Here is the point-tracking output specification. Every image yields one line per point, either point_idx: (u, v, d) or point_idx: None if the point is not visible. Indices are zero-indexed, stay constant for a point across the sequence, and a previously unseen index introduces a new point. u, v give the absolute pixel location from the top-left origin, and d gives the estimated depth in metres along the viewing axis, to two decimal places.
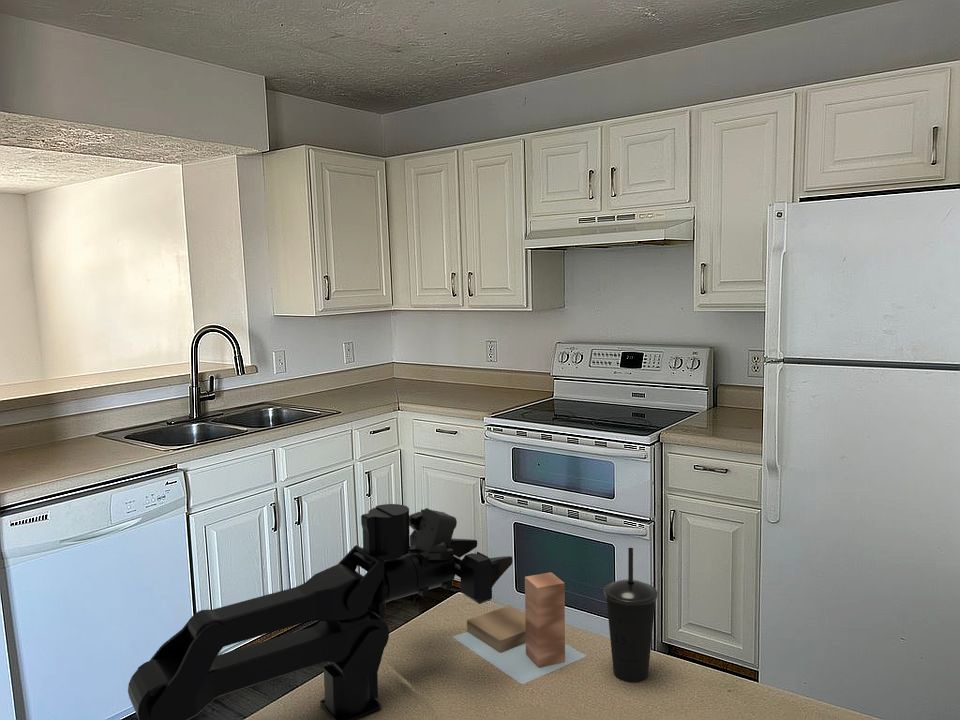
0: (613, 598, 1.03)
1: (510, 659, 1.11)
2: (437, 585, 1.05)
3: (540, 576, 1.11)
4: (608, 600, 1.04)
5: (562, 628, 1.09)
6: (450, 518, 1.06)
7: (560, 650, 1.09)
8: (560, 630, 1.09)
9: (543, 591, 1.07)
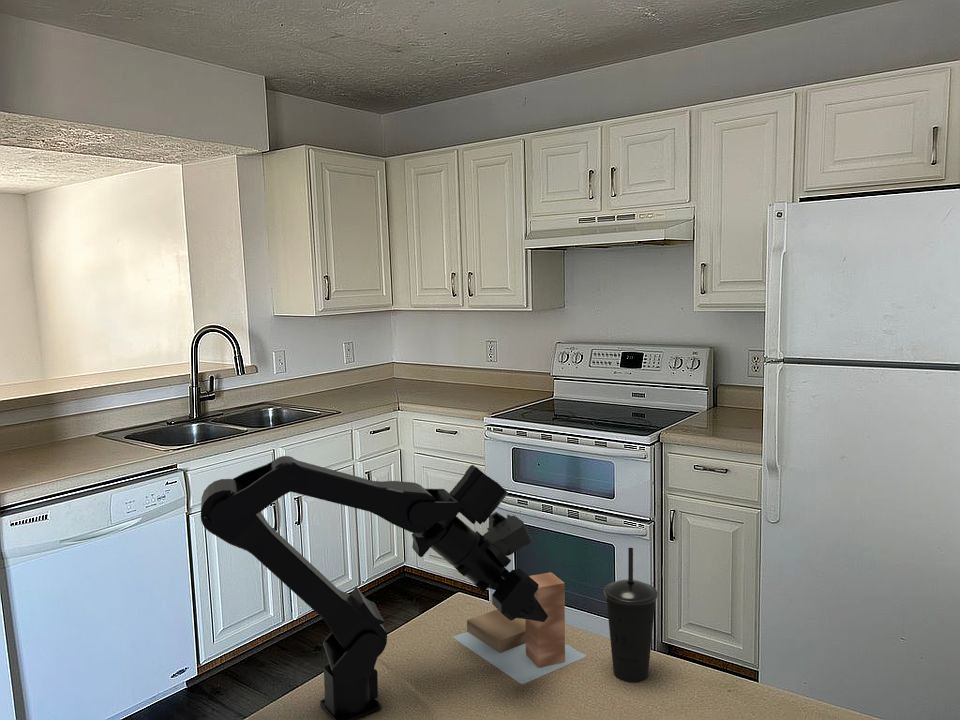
0: (613, 598, 1.03)
1: (510, 659, 1.11)
2: (475, 577, 1.03)
3: (540, 576, 1.11)
4: (608, 600, 1.04)
5: (562, 628, 1.09)
6: (528, 534, 1.06)
7: (560, 650, 1.09)
8: (560, 630, 1.09)
9: (543, 591, 1.07)
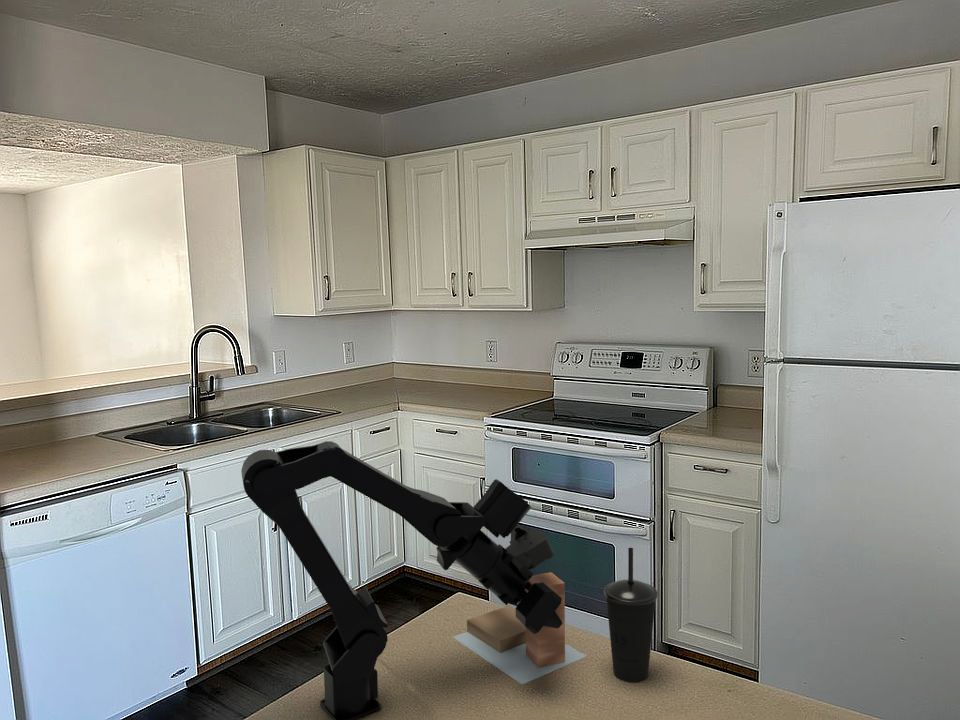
0: (613, 598, 1.03)
1: (510, 659, 1.11)
2: (499, 590, 1.05)
3: (540, 576, 1.11)
4: (608, 600, 1.04)
5: (562, 628, 1.09)
6: (551, 548, 1.07)
7: (560, 650, 1.09)
8: (560, 630, 1.09)
9: None
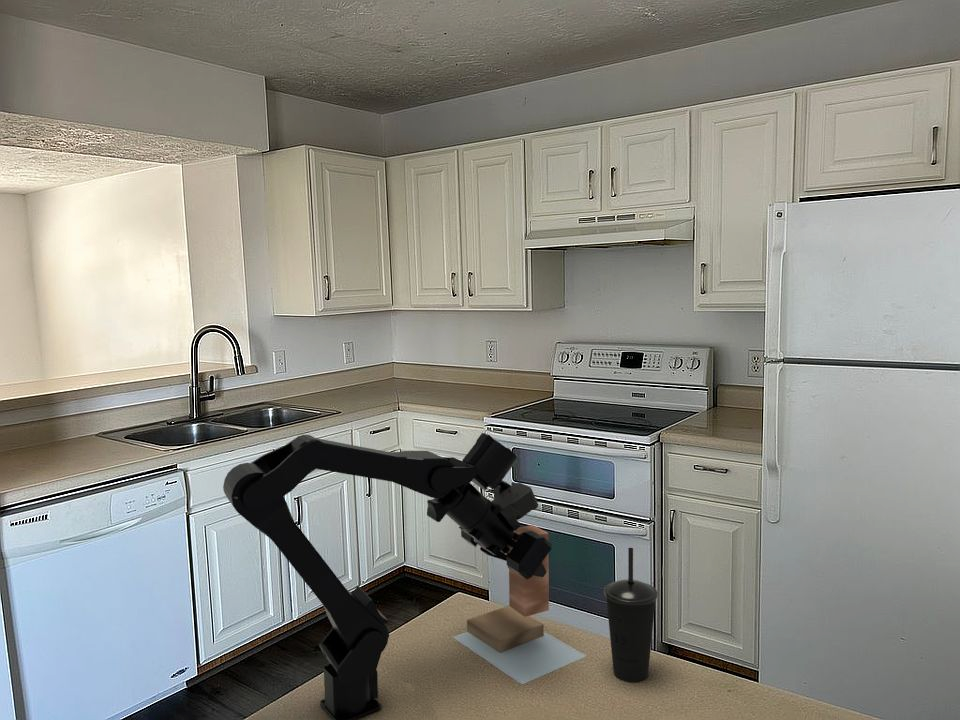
0: (613, 598, 1.03)
1: (510, 659, 1.11)
2: (488, 541, 1.07)
3: (523, 528, 1.14)
4: (608, 600, 1.04)
5: (546, 577, 1.12)
6: (535, 499, 1.10)
7: (544, 599, 1.12)
8: (544, 579, 1.12)
9: None
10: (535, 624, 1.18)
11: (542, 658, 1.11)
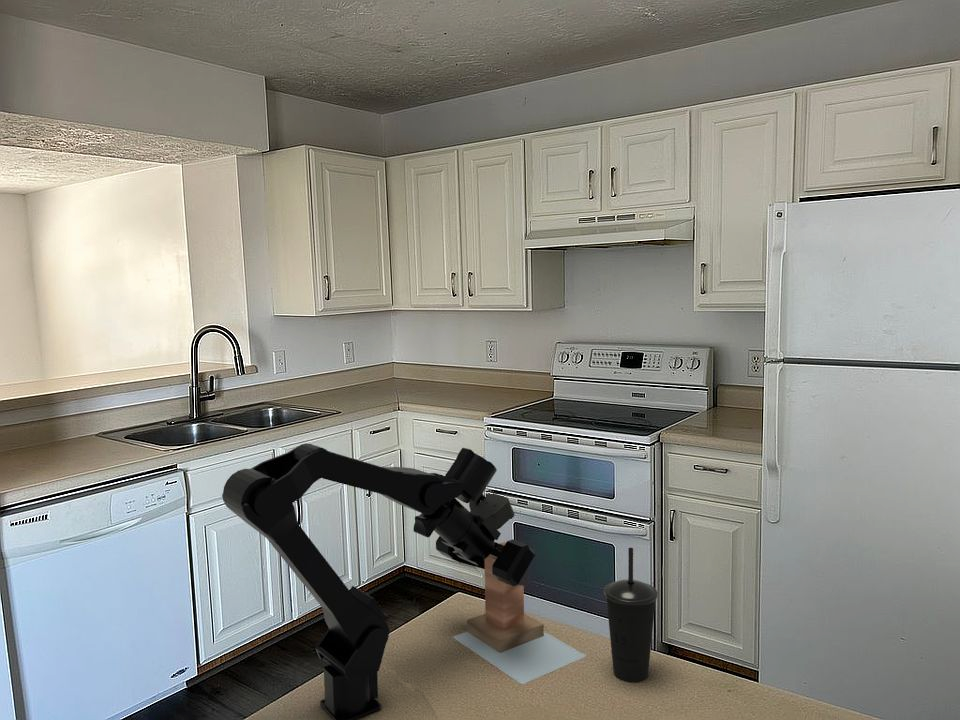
0: (613, 598, 1.03)
1: (510, 659, 1.11)
2: (472, 552, 1.10)
3: None
4: (608, 600, 1.04)
5: (521, 591, 1.18)
6: None
7: (520, 612, 1.18)
8: (520, 593, 1.18)
9: None
10: (535, 624, 1.18)
11: (542, 658, 1.11)
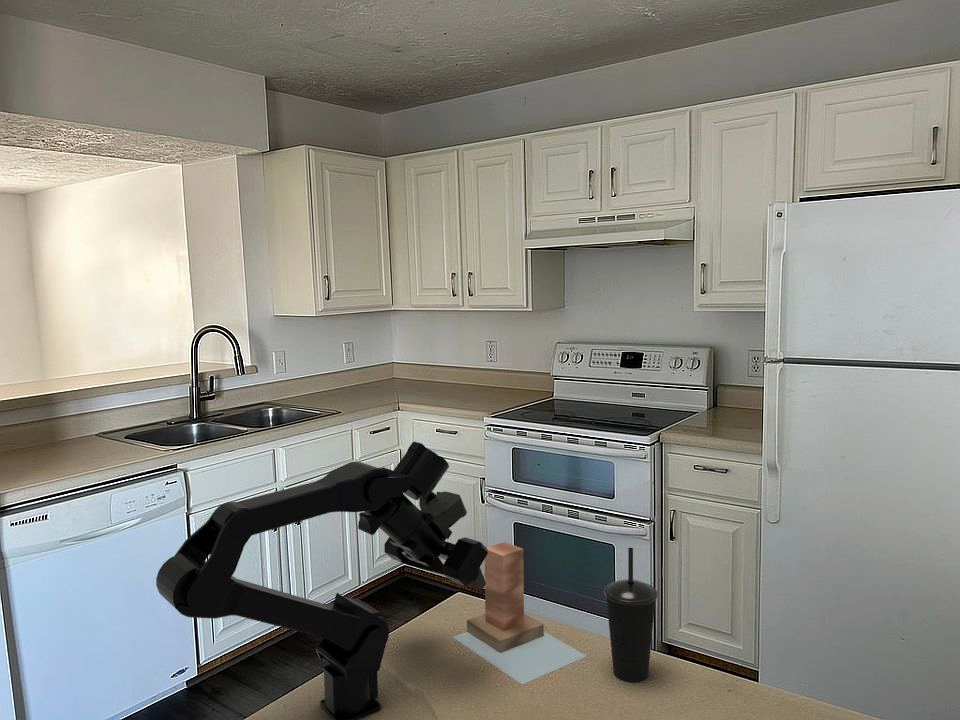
0: (613, 598, 1.03)
1: (510, 659, 1.11)
2: (421, 551, 1.04)
3: (498, 546, 1.19)
4: (608, 600, 1.04)
5: (521, 591, 1.18)
6: (464, 506, 1.10)
7: (520, 612, 1.18)
8: (520, 593, 1.18)
9: (507, 558, 1.15)
10: (535, 624, 1.18)
11: (542, 658, 1.11)
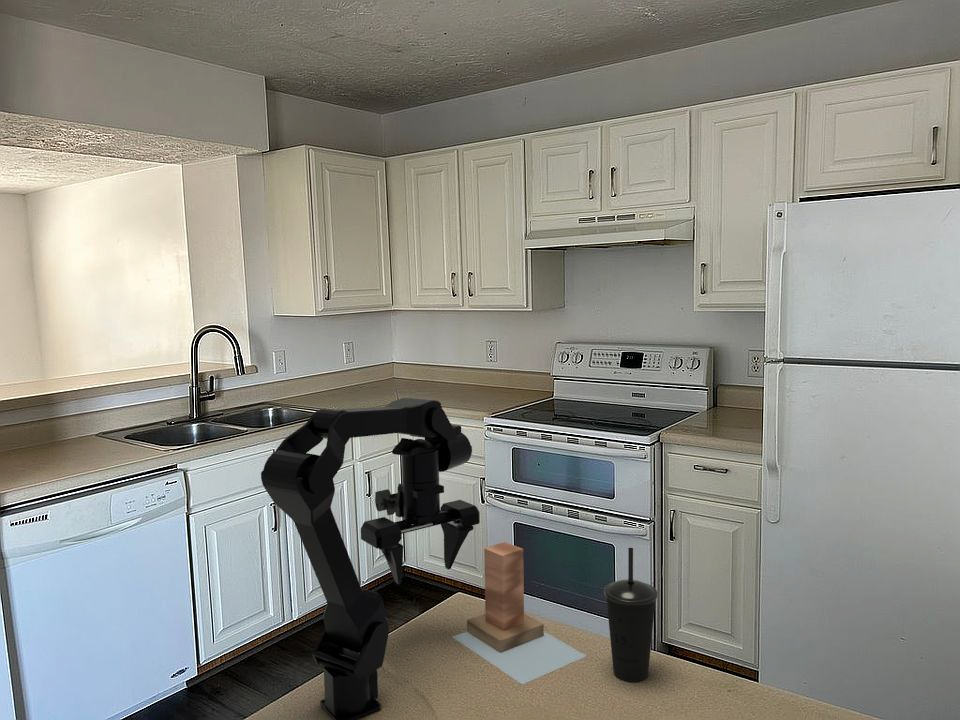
0: (613, 598, 1.03)
1: (510, 659, 1.11)
2: (439, 502, 1.12)
3: (498, 546, 1.19)
4: (608, 600, 1.04)
5: (521, 591, 1.18)
6: None
7: (520, 612, 1.18)
8: (520, 593, 1.18)
9: (507, 558, 1.15)
10: (535, 624, 1.18)
11: (542, 658, 1.11)
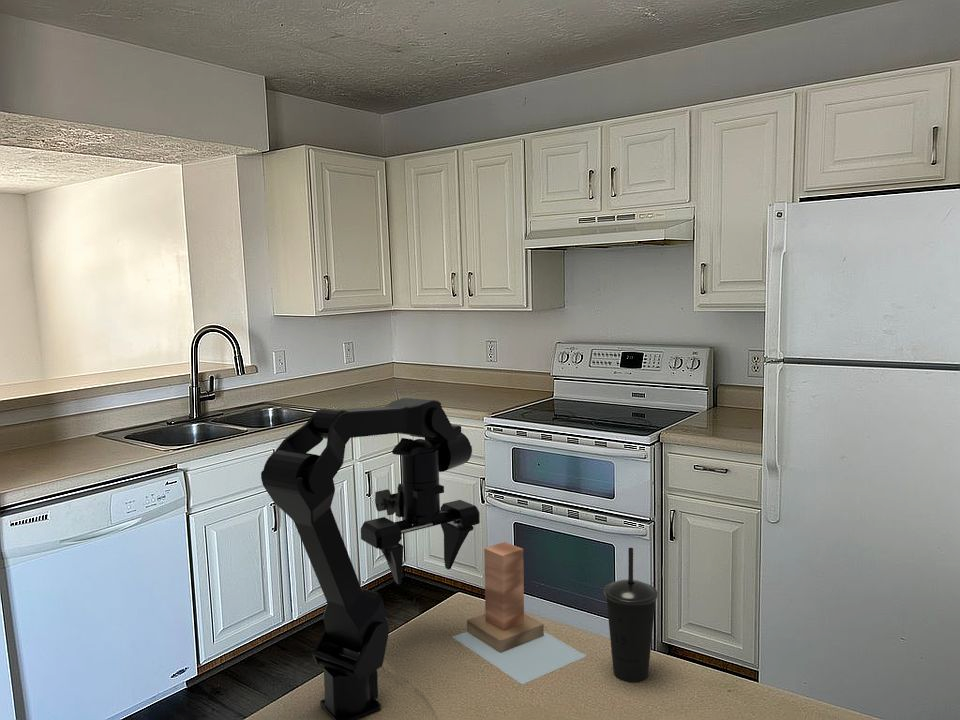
0: (613, 598, 1.03)
1: (510, 659, 1.11)
2: (439, 502, 1.12)
3: (498, 546, 1.19)
4: (608, 600, 1.04)
5: (521, 591, 1.18)
6: None
7: (520, 612, 1.18)
8: (520, 593, 1.18)
9: (507, 558, 1.15)
10: (535, 624, 1.18)
11: (542, 658, 1.11)
